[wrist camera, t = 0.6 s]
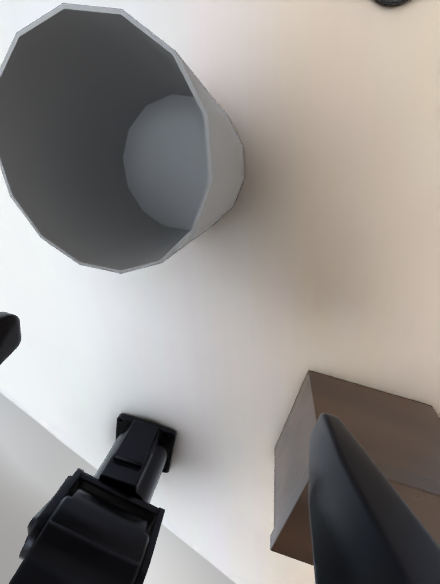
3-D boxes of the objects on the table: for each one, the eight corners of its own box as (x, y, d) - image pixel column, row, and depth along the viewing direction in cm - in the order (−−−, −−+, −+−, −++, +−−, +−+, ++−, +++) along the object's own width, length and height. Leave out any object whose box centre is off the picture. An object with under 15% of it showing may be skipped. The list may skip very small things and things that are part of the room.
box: (378, 482, 26) (418, 603, 19) (271, 448, 27) (269, 550, 20) (435, 404, 22) (516, 520, 15) (306, 367, 23) (321, 458, 16)
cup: (216, 248, 20) (169, 304, 11) (116, 204, 21) (-9, 225, 12) (265, 124, 17) (252, 64, 8) (143, 72, 17) (-7, -46, 8)
